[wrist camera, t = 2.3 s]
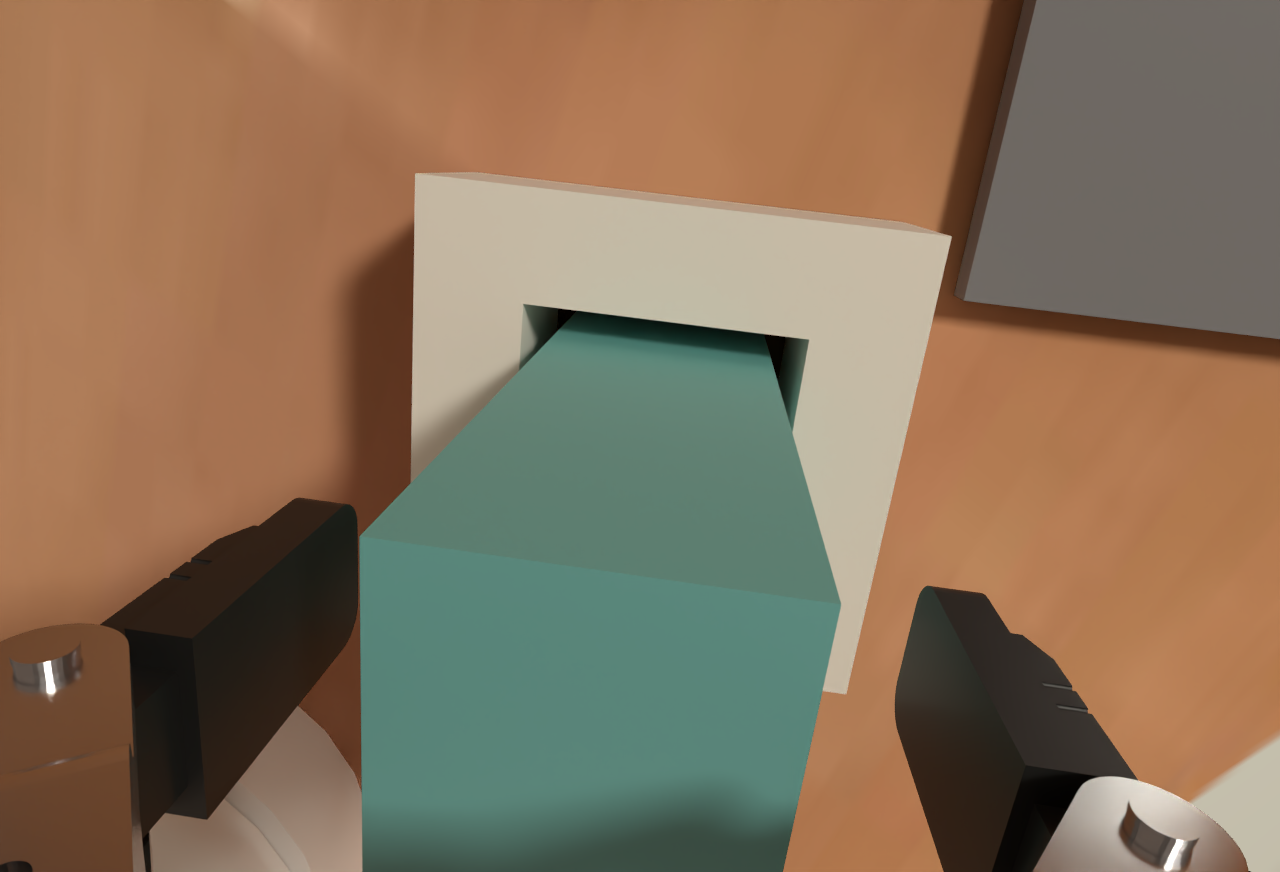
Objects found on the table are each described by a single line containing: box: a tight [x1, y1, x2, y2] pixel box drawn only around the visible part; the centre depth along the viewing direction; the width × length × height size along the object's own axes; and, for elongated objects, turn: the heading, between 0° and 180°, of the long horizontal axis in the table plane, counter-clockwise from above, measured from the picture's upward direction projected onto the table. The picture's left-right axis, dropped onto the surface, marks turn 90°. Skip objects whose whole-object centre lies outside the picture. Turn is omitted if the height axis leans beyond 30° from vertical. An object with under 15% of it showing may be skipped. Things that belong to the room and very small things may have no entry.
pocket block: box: [411, 172, 952, 694], centre depth 18 cm, size 10×10×4 cm
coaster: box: [954, 0, 1280, 339], centre depth 17 cm, size 9×9×1 cm
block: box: [360, 311, 841, 872], centre depth 14 cm, size 4×4×13 cm
